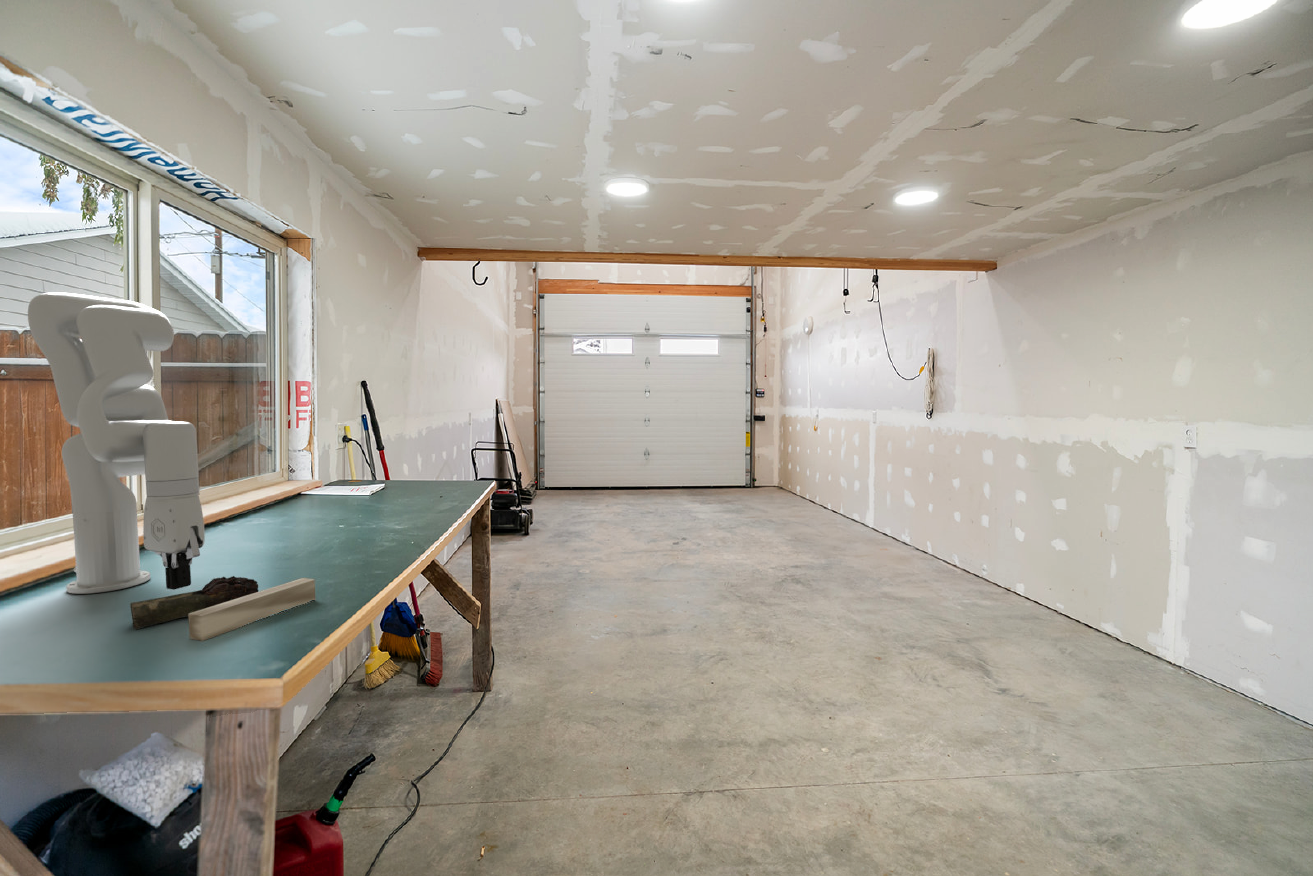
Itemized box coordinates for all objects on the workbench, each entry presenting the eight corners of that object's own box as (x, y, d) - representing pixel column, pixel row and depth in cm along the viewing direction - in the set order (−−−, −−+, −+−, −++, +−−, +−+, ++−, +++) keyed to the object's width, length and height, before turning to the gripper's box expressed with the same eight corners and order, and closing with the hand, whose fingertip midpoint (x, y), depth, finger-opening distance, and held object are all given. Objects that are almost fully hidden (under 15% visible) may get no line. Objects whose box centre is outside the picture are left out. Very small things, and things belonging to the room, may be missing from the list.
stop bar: (189, 638, 92) (188, 613, 92) (303, 598, 111) (303, 577, 111) (202, 641, 91) (201, 616, 91) (315, 600, 110) (314, 579, 110)
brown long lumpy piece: (133, 633, 95) (131, 599, 95) (131, 623, 100) (129, 590, 100) (262, 606, 107) (260, 576, 107) (254, 598, 112) (252, 569, 112)
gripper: (123, 490, 106) (129, 589, 107) (177, 493, 101) (183, 597, 102) (169, 484, 113) (174, 577, 114) (222, 487, 108) (227, 585, 109)
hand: (178, 587), depth 108 cm, fingers closed
